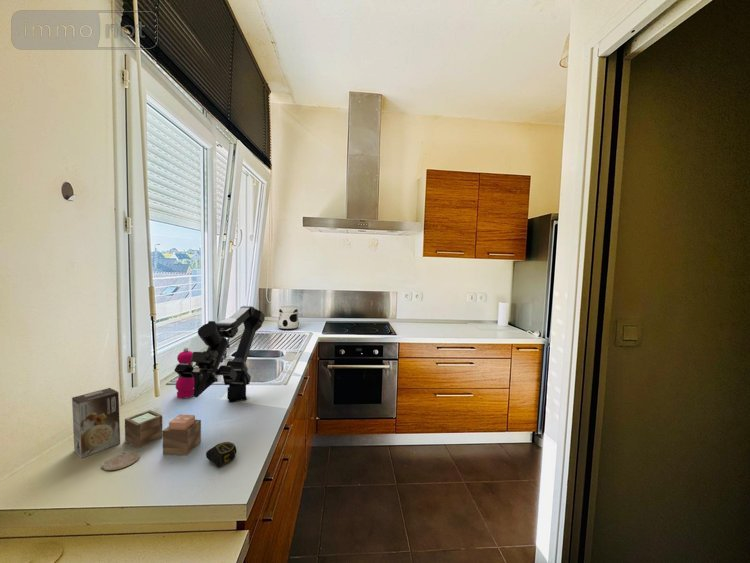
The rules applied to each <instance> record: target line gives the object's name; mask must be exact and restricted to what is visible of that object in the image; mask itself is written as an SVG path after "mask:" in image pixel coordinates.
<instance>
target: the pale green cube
mask: <svg viewBox="0 0 750 563" xmlns="http://www.w3.org/2000/svg"><path fill="white" fill-rule="evenodd" d="M154 417H156V416H154V415H152V414H149V413H147V414H144V415H141V416H139V417H136V418H133V419H131V420H133V421H135V422H137V423H141V422H144V421H146V420H149V419H151V418H154Z"/></svg>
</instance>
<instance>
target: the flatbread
mask: <svg viewBox="0 0 750 563" xmlns="http://www.w3.org/2000/svg"><path fill="white" fill-rule="evenodd" d="M140 456H141V455H140V454H139V453H138V452H136V451H132V452H130V451H129V452H128V451H127V452H122V453H119V454H118V455H115V456H113V457H110V458H109V459H107V460H106V461H105V462H104V463H103V464H102V465H101V469H103V470H105V471H117V470H121V469H124V468H127V467H128V466H131V465H132V464H134V463H136V462H137V461H138V460H139V459H140Z"/></svg>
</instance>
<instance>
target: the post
mask: <svg viewBox="0 0 750 563" xmlns="http://www.w3.org/2000/svg"><path fill="white" fill-rule="evenodd" d="M147 413H149V414H152V415H154V416H156V417H154V418H151V419H149V420H146V421H144V422H141V423H137V422H135V421H133V420H131V419H133V418H136V417H139V416H141V415H144V414H147ZM160 438H163V415H162V414H161V413H158V412H156V411H154V410H151V409H148V410H146V411H143V412H141V413H137V414H135V415H131V416H130V417H126V418H125V419H124V442H125V443H128V444H129V445H131V446H133V447H135V448H137V449H139V448H141V447H143V446H146V445H148V444H150V443H152V442H155V441H156V440H159V439H160Z"/></svg>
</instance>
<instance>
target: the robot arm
mask: <svg viewBox="0 0 750 563" xmlns="http://www.w3.org/2000/svg"><path fill="white" fill-rule="evenodd" d="M264 321H265V314H264V313H263V312H262V311H261V310H259V309H256V308H255V307H254V306H252V305H242V306H240V308H239V309H238V310H237V311H236V312H235V313H234V314H232V315H231V316H229V317H228V318H225V319H220V320H219V321H217V322H216V321H215V320H208V321H207V323H205V324H202V325H201V326H200V327H199V328H198V330H197V335H198V337H199V338H200V339H201V340H202V341H203V343H204V344H205V345H206V346H207V349H206V350H204V351H193V355H192V358H191V362H194V363H195V366H192V365H191V364H185V363H180V364H179V363H178V364H176V366H175V368H174V370H173V371H174V372H175V373H177V375H178V376H179V375H180V376H181V377H182V378H192V377H194V388H193V389H194V395H193V396H192V397H194V398H198V397H199V396H200V395H201V394H202V393H204V392H205V391H206V390H207V389H208V388H210V386H212V385H213V384H215V383H217V382H218V381H219V376H222V377H223V378H222V379H223V383H224V386H227V387H226V390H227V393H226V394H227V396H226V397H227V400H228V403H234V402H240V401H245V400H247V385H250V384H251V383H250V382H251V377H252V376H251V375H250V374H249V370H248V369H249V368H248V365H247V361H248V357H249V354H250V350H251V346H252V344H253V341H254V338H255V336H256V332H257V331H258V330H260V328H261V327H262V326H263V324H264ZM242 324H243V326H244V329H243V332H242V334H241V338H240V340H239V344H238V345H237V346H238V347H237V350H236V351H235V354H234V358H233V359H232V360H228V361H227V363H226V365H224V364H223V365H220V364H221V363H223V362H224V358H223V357H224V355H225V352H226V349H230V344H229V340H228V339H233V338H235V336H236V335H237V334H238V332H239V327H240V326H242ZM226 338H227V339H226Z"/></svg>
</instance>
